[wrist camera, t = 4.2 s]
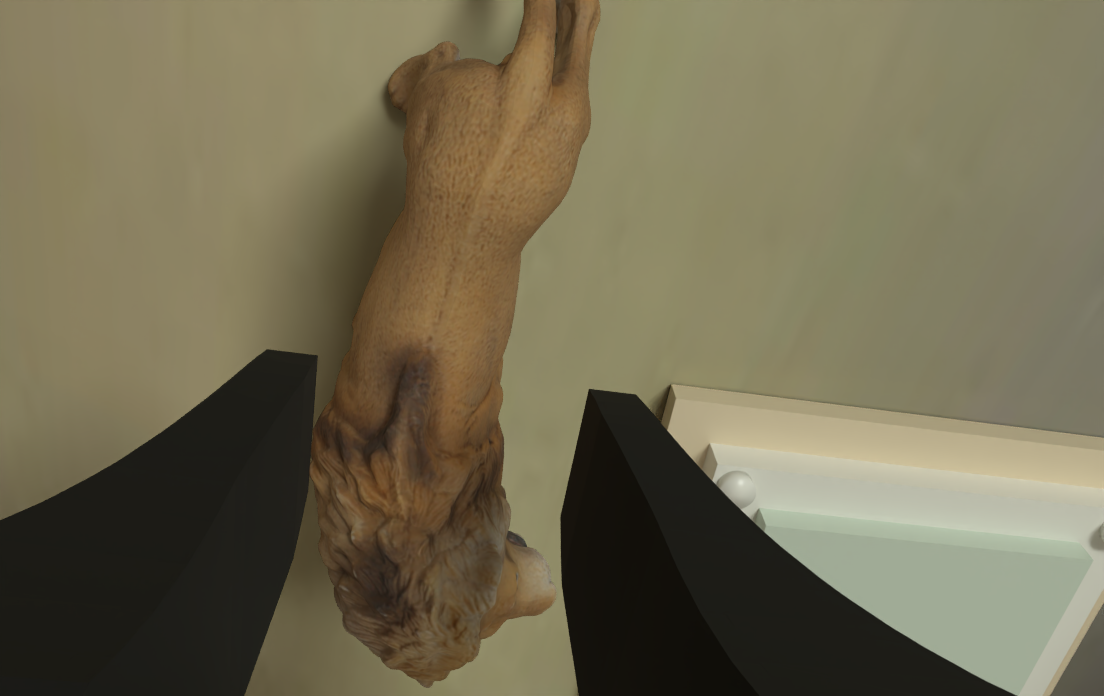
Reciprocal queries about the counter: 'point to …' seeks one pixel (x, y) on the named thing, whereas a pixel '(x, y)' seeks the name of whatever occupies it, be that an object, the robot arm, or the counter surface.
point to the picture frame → (921, 520)
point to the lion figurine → (448, 352)
